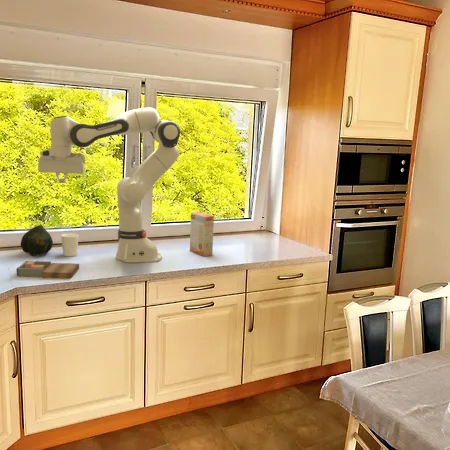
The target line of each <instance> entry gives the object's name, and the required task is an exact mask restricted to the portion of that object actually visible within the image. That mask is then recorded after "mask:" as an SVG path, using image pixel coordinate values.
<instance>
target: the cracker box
mask: <svg viewBox="0 0 450 450" xmlns="http://www.w3.org/2000/svg"><path fill="white" fill-rule="evenodd" d="M214 218H215V216H214V215H211V214H208V213H205V212H201V211H195V212H194V211H193V212H190V232H189V233H190V234H189V235H190V236H189V251H190V252H192V253H195V254H196V255H197V254H198V255H199V256H201V257H210V256H213V250H214V249H213V248H214V247H213V245H214V244H213V243H214V223H215V221H214V220H215V219H214Z"/></svg>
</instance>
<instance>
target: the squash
mask: <svg viewBox="0 0 450 450" xmlns="http://www.w3.org/2000/svg"><path fill="white" fill-rule="evenodd" d="M44 227H45V226H43V225H42V224H39V225H36V226H34V227H32V228H30V229H29V230H28V231H26V232H25V233H24V234H23V236H22V237H21V240H20V247H21V249H22V251H23V252H24V253H26V254H30V256H33V257H36V256H42V255H44V254H47V253H49V252H50V250H51V249H52V248H53V245H54V242H53V238H52V235H51V234H50V233H49V232H48V230H47V229H45V228H44Z"/></svg>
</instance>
